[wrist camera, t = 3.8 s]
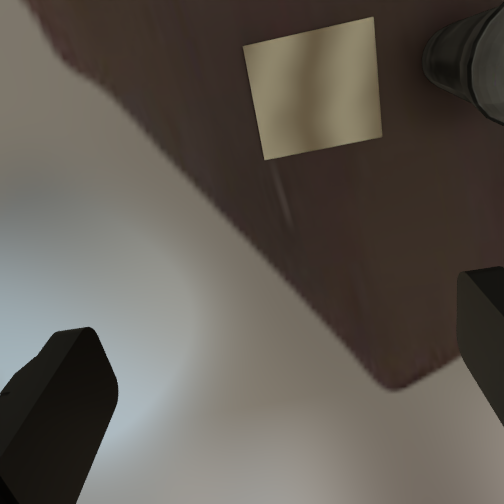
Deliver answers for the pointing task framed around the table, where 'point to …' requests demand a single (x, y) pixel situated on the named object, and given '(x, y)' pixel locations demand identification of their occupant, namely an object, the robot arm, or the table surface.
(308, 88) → the birch coaster
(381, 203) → the table surface
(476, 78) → the beverage cup
